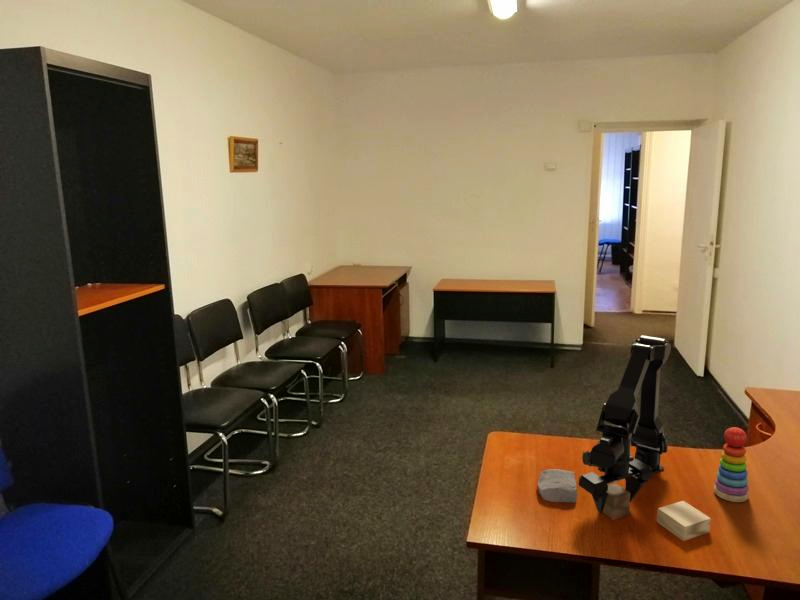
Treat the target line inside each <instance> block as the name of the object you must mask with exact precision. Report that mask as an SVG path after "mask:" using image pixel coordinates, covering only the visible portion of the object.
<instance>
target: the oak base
mask: <svg viewBox="0 0 800 600" xmlns="http://www.w3.org/2000/svg"><path fill="white" fill-rule="evenodd" d="M656 516H657V517H656V522H657V523H658V524H659V525H660V526H662V527H663V528H665V529H666V530H667V531H668V532H670V533H672V534H673V535H674V536H676V537H677V538H678V539H679V540H681V541H683V542H685V541H688V540H692V539H694V538H696V537H699V536H702V535H707V534H708V533H710V531H711V530H710V529H711V521H712V519H711V518H710V517H709V516H708V515H707V514H705V513H704V512H702V511H700V510H699V509H697V508H696V507H693V506H692V505H691V504H689V503H688V502H686V501H684V500H681V501H677V502H675V503H672V504H671V503H670V504H667V505H665V506H662V507H658V508H657V515H656Z"/></svg>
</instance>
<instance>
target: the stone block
mask: <svg viewBox="0 0 800 600" xmlns="http://www.w3.org/2000/svg"><path fill="white" fill-rule="evenodd" d="M537 487H538V493H539V495H540V497H541V498H542V499H543V500H544V501H546V502H547V501H549V502H552V503H553V502H554V503H573V504H574V503H576V502H577V494H578V490H577V481H576V477H575V471H569V470H564V469H558V468H552V469H551V468H550V469H545V470H542V471H541V472H539V478H538V481H537Z"/></svg>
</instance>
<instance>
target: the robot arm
mask: <svg viewBox="0 0 800 600" xmlns="http://www.w3.org/2000/svg"><path fill="white" fill-rule="evenodd" d="M671 349H672V346H671V343H670V342H669V340H667V338H664V337H663V338H662V337H658V336H651V335H645V334H642V335H641V336H640V337H639V338H634V339H632V345H631V347H630V356H629V359H628V361H627V364H626V367H625V369H624V372H623V374H622V377H621V381H620V384H619V385H618V388H617V389H616V390H615V391H613V392H612V393H610V395H608V398H607V400H606V402H604V403H603V405H602V408H601V412H600V415H599V418H598V423H597V427H596V431H597V432H601V433H602V436H601V438H600V439H599V441H598V442H596V443H595V444H594V446H592V448H591V450H590V451H589V450H587V451H583V452H582V457H581V458H582V463H583V465H585V466H589V467H596V468H597V470H598V471H599V472H600V473H602V472H603V474H604V475H601V476H600V475H598V474H596V473H595V472H594V471H591V472H589V473H586V474H585V473H584V474H582V475H580V476H579V478H578V486H579V487H580V488H582V489H583V490H585V491H586V492H588V493H589V494H590V495H591V497H592V499H593V502H594V504H595V508H596V511H597V512H598V513H599V514H602V513H603V512H602V511H603V509H604V506H605V503H606V499H607V496H608V493H607V490H608V485H611V484H614V483H617V482H619V481H623V480H625V487H624V489H625V490H626V491H628V492H630V503H631V502H632V501H633V500H634V498H635V497H636V495H637V494H639V492H640V491H641V489H642V488H643V486H644V485H645V484H646V483H648V481H649V479H650V480H651V479H652V477H653V474H654V473H657V472H661V471H663V470H665V467H664V466H662V465H661V455H664V454H665V453H667V452H668V439H667V436H666V434H665V433H664V424H663V422H662V420H661V419H660V418H659V401H660V400H659V399H660V398H659V397H660V382H661V381H660V380H661V369H662V367H663V365H664V364H665V363H666V362H667V360H668V358H669V356H670V355H671ZM639 392H640V402H639V406H638V403H637V399H638V396H639ZM604 423H605V424H604ZM606 423H608V424H610V425H608V424H606ZM631 447H633V448H634V447H635V453H634V456H632V455H631Z"/></svg>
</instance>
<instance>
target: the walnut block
mask: <svg viewBox="0 0 800 600" xmlns="http://www.w3.org/2000/svg"><path fill="white" fill-rule="evenodd" d="M607 485H608V490H607V493H608V496H607V499H606V503H605V506H604V509H603V511H602V513H603V514H605V515H606V516H607V517H609V518H610V519H611V520H613V521H614V520H616V519H621V518H623V517H626V516H629V515H630V504H631V502H630V492H628V491H626V490H625V488H624V487H623V486H621V485H619V484H618V483H617V482H613V483H610V484H607Z"/></svg>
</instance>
